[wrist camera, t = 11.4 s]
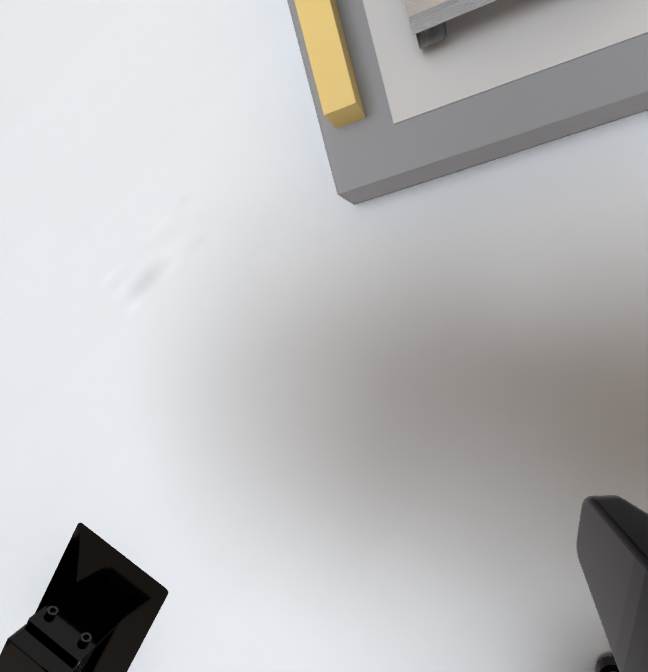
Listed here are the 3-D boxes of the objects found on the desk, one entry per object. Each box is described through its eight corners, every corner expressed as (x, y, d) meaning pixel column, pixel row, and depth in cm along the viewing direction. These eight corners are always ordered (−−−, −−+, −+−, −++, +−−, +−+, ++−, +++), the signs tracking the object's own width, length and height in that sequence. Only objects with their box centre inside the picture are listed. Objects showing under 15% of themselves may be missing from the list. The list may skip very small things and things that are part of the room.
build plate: (102, 751, 26) (29, 845, 22) (-2, 662, 28) (-90, 734, 23) (204, 568, 24) (144, 635, 19) (83, 479, 25) (0, 522, 20)
